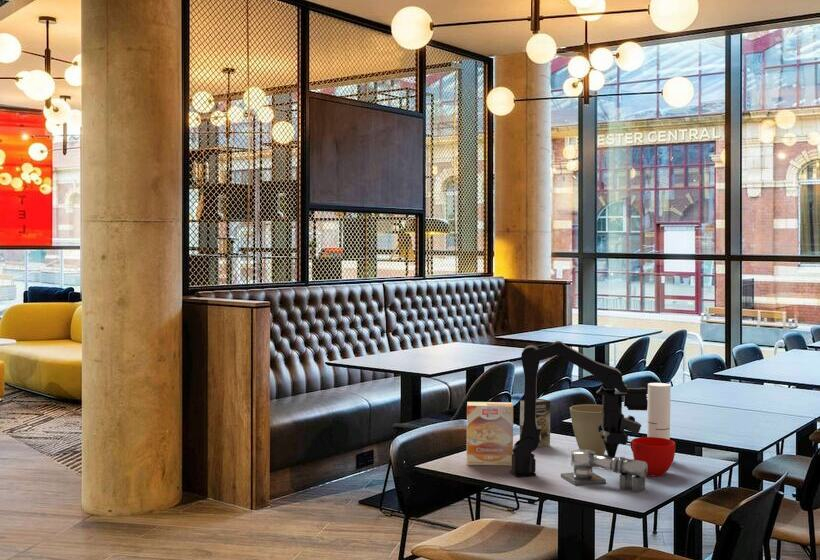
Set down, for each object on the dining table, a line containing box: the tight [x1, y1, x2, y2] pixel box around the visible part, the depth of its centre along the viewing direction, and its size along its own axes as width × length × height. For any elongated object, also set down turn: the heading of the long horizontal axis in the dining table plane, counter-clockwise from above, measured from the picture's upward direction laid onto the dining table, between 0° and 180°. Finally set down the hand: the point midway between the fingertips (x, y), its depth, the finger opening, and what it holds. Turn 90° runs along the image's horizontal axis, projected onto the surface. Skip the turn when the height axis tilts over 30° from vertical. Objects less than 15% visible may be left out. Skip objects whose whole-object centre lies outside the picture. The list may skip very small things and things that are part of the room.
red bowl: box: [629, 436, 676, 477], centre depth 275 cm, size 13×17×10 cm
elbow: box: [570, 448, 620, 474], centre depth 263 cm, size 15×7×4 cm, turn 48°
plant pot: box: [569, 404, 606, 456], centre depth 297 cm, size 15×15×16 cm
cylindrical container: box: [646, 382, 671, 440], centre depth 290 cm, size 7×7×25 cm
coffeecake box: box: [466, 401, 514, 467], centre depth 286 cm, size 15×7×20 cm, turn 86°
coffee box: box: [519, 398, 551, 448], centre depth 311 cm, size 9×6×16 cm
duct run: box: [617, 456, 648, 494], centre depth 255 cm, size 8×5×9 cm, turn 50°
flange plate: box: [560, 467, 607, 486], centre depth 266 cm, size 10×10×4 cm
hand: (611, 460), depth 268 cm, fingers closed
